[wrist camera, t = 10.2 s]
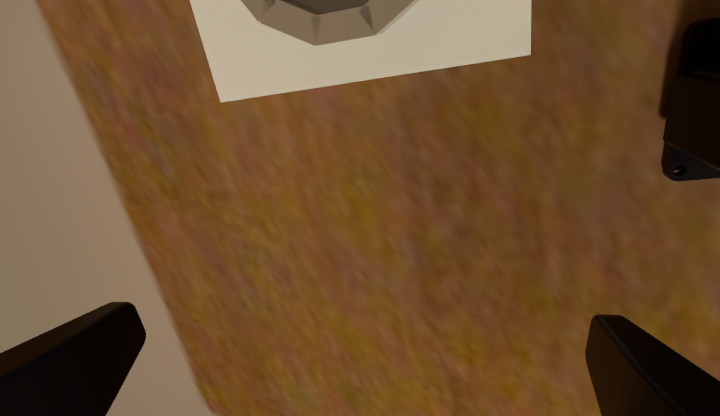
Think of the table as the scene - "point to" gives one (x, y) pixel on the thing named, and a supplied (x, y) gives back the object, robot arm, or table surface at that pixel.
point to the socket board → (350, 40)
